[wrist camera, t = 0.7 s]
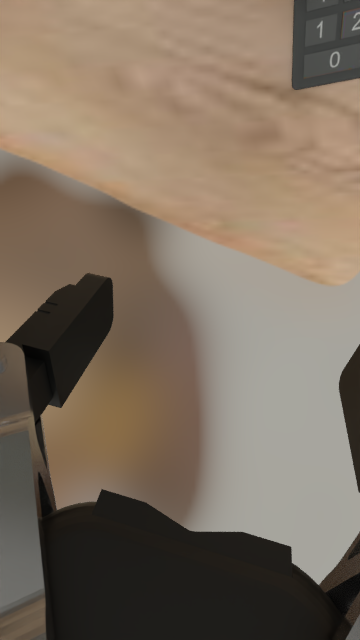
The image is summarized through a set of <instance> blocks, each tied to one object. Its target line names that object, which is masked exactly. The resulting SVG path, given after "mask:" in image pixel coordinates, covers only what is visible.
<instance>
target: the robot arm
mask: <svg viewBox="0 0 360 640" xmlns="http://www.w3.org/2000/svg"><path fill="white" fill-rule="evenodd" d="M112 322H113V285H112V280H111V278H108V277H104V276H100V275H95V274H91V273H87V274H86V275H85V276H84V277H83V278H82V279H81V280H80V281H79V282H78V283H77V284H76V285H71V284H69V285H67V286H65V287H63V288H61V289H59V290H57V291H55V292H54V293H53V294H52V295H51V296H50V297H49V298H48V299H47V300H46V302H45V303H44V304H42V305H41V306H40V308H38V311H37V312H34V314H33V315H32V316H31V317H30V318H29V319H28V320H27V321H26V322H25V323H24V324H23V325H22V326H21V327H20V328H19V329H18V330H17V331H16V332H15V333H14V334H13V335H12V336H11V337H10V338H9V339H8V340H7V341H6V342H0V640H360V532H359V534H358V535H357V537H356V538H355V540H354V541H353V543H352V544H351V546H350V547H349V549H348V550H347V552H346V553H345V554H344V556H343V557H342V559H341V561H340V562H339V563H338V564H337V566H336V567H335V568H334V569H333V570H332V571H331V572H330V573H329V574H328V575H327V576H326V577H325V579H324V580H323V581H322V582H321V583H320V584H319V585H318V584H317V583H316V582H315V581H314V580H313V579H311V577H309V576H308V575H307V574H306V573H305V572H304V571H302V570H301V569H300V568H299V567H297V566H296V565H294V564H293V563H292V557H291V556H292V554H291V547H290V546H287V545H284V544H280V543H277V542H274V541H270V540H267V539H264V538H261V537H257V536H254V535H251V534H247V533H244V532H194V531H189V530H187V529H186V528H184V527H183V526H181V525H180V524H178V523H176V522H175V521H173V520H172V519H170V518H169V517H167V516H166V515H164V514H163V513H161V512H160V511H158V510H156V509H155V508H153V507H152V506H150V505H149V504H147V503H145V502H142V501H139V500H136V499H132V498H129V497H126V496H122V495H119V494H116V493H112V492H109V491H106V490H103V489H102V490H101V492H100V495H99V498H98V500H97V502H85V503H78V504H74V505H70V506H67V507H64V508H62V509H59V510H57V508H56V502H55V496H54V491H53V487H52V482H51V477H50V471H49V463H48V456H47V449H46V442H45V435H44V428H43V420H42V416H41V414H42V413H43V411H44V410H45V408H46V407H47V405H52V406H56V407H59V408H61V407H62V406H63V404H64V403H65V401H66V400H67V398H68V396H69V395H70V393H71V392H72V390H73V388H74V387H75V385H76V384H77V382H78V381H79V379H80V377H81V376H82V374H83V372H84V371H85V369H86V368H87V366H88V365H89V363H90V361H91V360H92V358H93V357H94V355H95V353H96V352H97V350H98V349H99V347H100V346H101V344H102V342H103V341H104V339H105V338H106V336H107V334H108V333H109V331H110V328H111V326H112ZM339 392H340V397H341V402H342V407H343V413H344V418H345V423H346V428H347V433H348V439H349V444H350V449H351V454H352V459H353V465H354V470H355V475H356V480H357V486H358V491H359V492H360V345H359V346H358V348H357V349H356V351H355V352H354V354H353V356H352V357H351V359H350V360H349V362H348V363H347V365H346V367H345V368H344V370H343V371H342V374H341V376H340V381H339Z"/></svg>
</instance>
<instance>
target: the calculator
mask: <svg viewBox="0 0 360 640" xmlns="http://www.w3.org/2000/svg"><path fill="white" fill-rule="evenodd" d="M356 78H360V0H294V26H293V66H292V87H293V88H294V89H295V90H299V89H304V88H309V87H314V86H319V85H325V84H330V83H335V82H340V81H345V80H350V79H356Z"/></svg>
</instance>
